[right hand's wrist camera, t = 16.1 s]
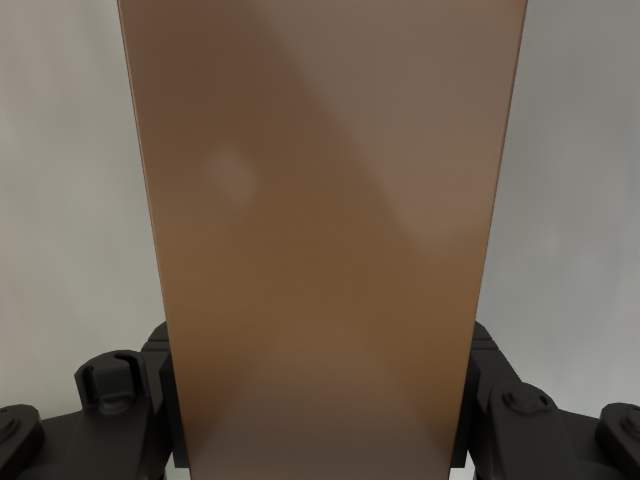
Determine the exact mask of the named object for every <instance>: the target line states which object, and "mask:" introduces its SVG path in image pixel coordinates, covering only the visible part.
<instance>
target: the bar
mask: <svg viewBox="0 0 640 480" xmlns="http://www.w3.org/2000/svg"><path fill="white" fill-rule="evenodd" d="M527 2H528V0H117V5H118V11H119V18H120V24H121V31H122V37H123V44H124V50H125V57H126V63H127V69H128V76H129V82H130V89H131V95H132V102H133V108H134V115H135V121H136V128H137V134H138V141H139V147H140V154H141V160H142V167H143V173H144V180H145V186H146V192H147V199H148V205H149V212H150V218H151V225H152V231H153V238H154V244H155V251H156V257H157V264H158V270H159V277H160V283H161V290H162V296H163V303H164V309H165V315H166V322H167V328H168V335H169V341H170V348H171V354H172V361H173V367H174V374H175V380H176V387H177V393H178V400H179V406H180V413H181V419H182V425H183V432H184V438H185V445H186V451H187V458H188V464H189V471H190V477H191V480H449V476H450V470H451V463H452V457H453V451H454V445H455V439H456V433H457V427H458V421H459V415H460V409H461V403H462V397H463V391H464V385H465V378H466V372H467V366H468V360H469V354H470V348H471V342H472V336H473V330H474V324H475V318H476V312H477V306H478V300H479V293H480V287H481V281H482V275H483V269H484V263H485V257H486V251H487V245H488V239H489V233H490V227H491V221H492V215H493V208H494V202H495V196H496V190H497V184H498V178H499V172H500V166H501V160H502V154H503V148H504V142H505V136H506V130H507V123H508V117H509V111H510V105H511V99H512V93H513V87H514V81H515V75H516V69H517V63H518V57H519V51H520V45H521V38H522V32H523V26H524V20H525V14H526V8H527Z"/></svg>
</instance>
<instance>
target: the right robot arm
mask: <svg viewBox="0 0 640 480" xmlns="http://www.w3.org/2000/svg"><path fill="white" fill-rule="evenodd" d="M74 377H75V380H76V384H77V388H78V392H79V396H80V399H81V403H82V407H83V408H82V410H81V411H78V412H75V413H71V414H67V415H63V416H58V417H54V418H50V419H45V420H41V419H40V415H39V412H38V410H36V409H35V408H34V407H33V406H30V405H23V404H19V405H12V406H7V407H4V408H0V480H167V477H166V472H165V467H166V464H167V462H168V459H169V457H170V455H171V452H172V453H173V458H174V464H175V468H189V464H188V458H187V451H186V445H185V438H184V432H183V425H182V419H181V413H180V406H179V400H178V393H177V387H176V380H175V374H174V367H173V361H172V354H171V348H170V341H169V335H168V328H167V322H166V321H165V322H164V323H162V324H161V325H159V326H158V327H157V328H155V330H154V331H153V333H152V334H151V336H150V337H149V339H148V342H146V343H145V344H144V346H143V347H142V349H141V352H136V351H132V350H116V351H112V352H108V353H103V354H101V355H99V356H97V357H95V358H92V359H90V360H89V361H88V362H86V363H85V364H83V365H82V366H81V367H80V368H79V369H78V371H77V372H76V373H75V375H74ZM467 451H469V453H470V456H471V458H472V461H473V463H474V466H475V472H474V477H473V480H640V407H639V406H636V405H633V404H626V403H612V404H608V405H606V406H605V407H604V408H603V409H602V411H601V414H600V417H599V419H598V418H593V417H589V416H584V415H580V414H576V413H571V412H567V411H564V410H561V409H558V408H557V406H556V404H555V403H554V401H553V400H552V398H551V397H549V396H548V395H547V394H546V393H545V392H543V391H542V390H540V389H538V388H536V387H534V386H532V385H531V384H528V383H524V382H522V381H521V380H520V378H519V377H518V375H517V374H516V372H515V371H514V369H513V368H512V366H511V365H510V364H509V362H508V361H507V359H506V358H505V356H504V355H503V353H502V352H501V350H499V348H498V346H497V345H496V343H495V342H494V341H492V337H491V336H490V334H489V333H488V332H487V330H486V329H485V327H484V326H482V325H481V324H480V323H478V322H477V321H475V324H474V330H473V336H472V342H471V348H470V354H469V360H468V366H467V372H466V378H465V385H464V391H463V397H462V403H461V409H460V415H459V421H458V427H457V433H456V439H455V445H454V451H453V457H452V463H451V468H465V463H466V457H467Z"/></svg>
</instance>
